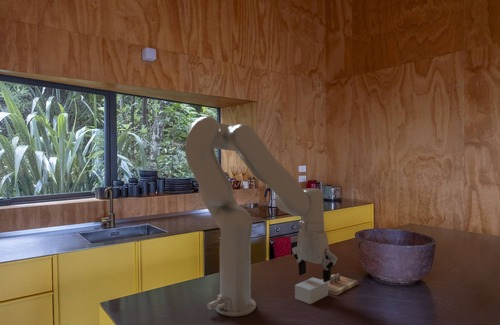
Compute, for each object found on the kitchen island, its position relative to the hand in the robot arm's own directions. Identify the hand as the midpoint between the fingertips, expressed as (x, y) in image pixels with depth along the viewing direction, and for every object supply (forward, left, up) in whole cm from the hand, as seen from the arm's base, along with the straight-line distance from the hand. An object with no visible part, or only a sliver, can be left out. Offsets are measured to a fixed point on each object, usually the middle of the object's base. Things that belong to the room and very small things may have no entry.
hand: (314, 277), depth 115 cm
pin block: (+13, 0, -6) cm, 15 cm away
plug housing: (-1, 0, -6) cm, 6 cm away
